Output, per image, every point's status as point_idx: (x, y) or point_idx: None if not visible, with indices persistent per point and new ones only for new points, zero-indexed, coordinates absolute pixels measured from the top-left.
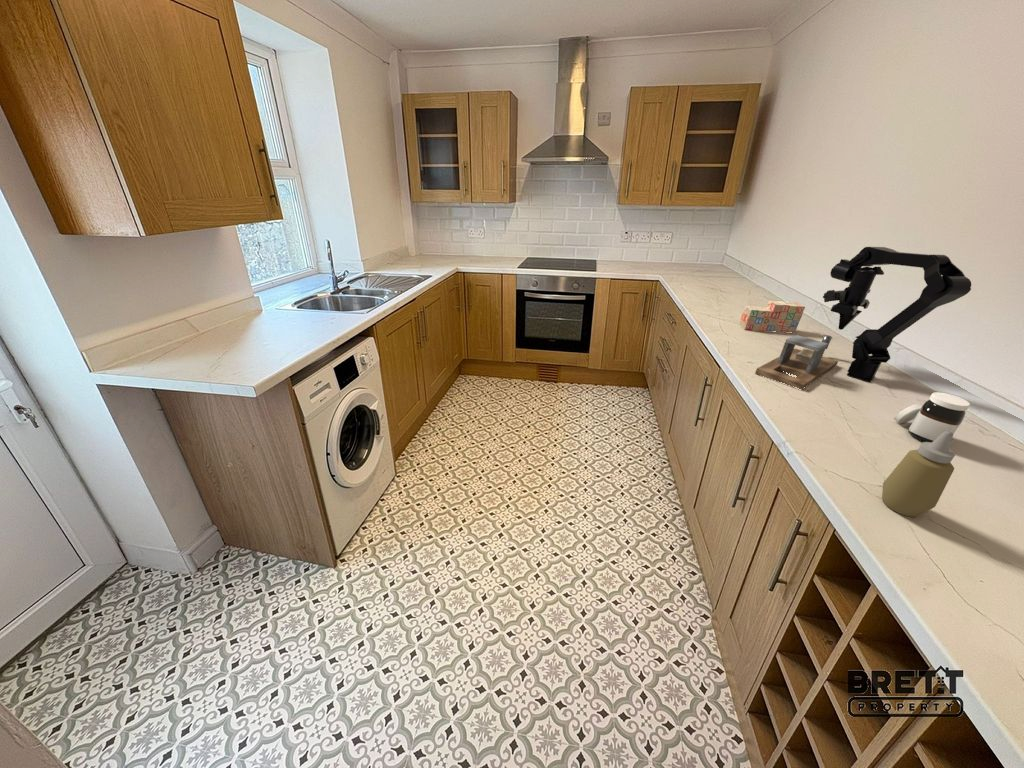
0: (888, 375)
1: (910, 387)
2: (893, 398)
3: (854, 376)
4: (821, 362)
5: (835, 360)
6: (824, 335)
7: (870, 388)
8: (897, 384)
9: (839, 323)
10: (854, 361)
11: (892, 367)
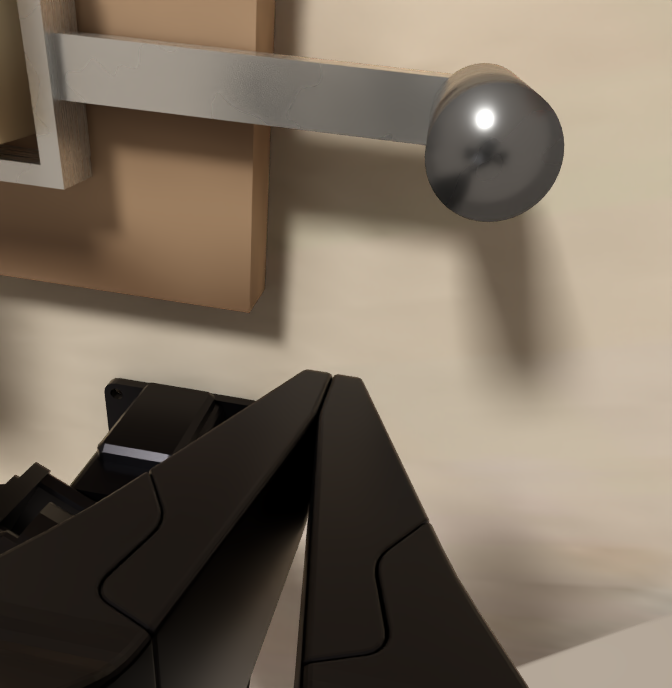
0: None
1: (287, 650)
2: None
3: (109, 425)
4: (44, 191)
5: (250, 289)
6: (488, 86)
7: None
8: None
9: (222, 431)
10: (92, 461)
11: (657, 610)
